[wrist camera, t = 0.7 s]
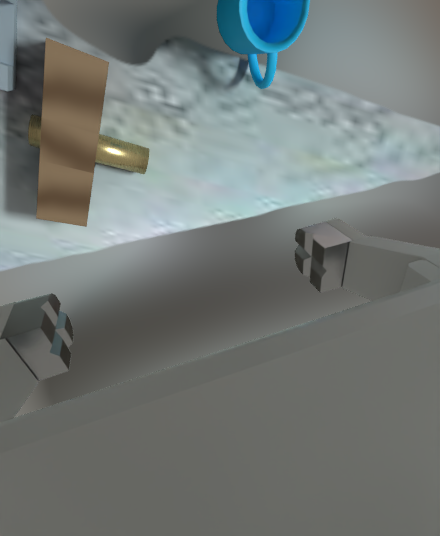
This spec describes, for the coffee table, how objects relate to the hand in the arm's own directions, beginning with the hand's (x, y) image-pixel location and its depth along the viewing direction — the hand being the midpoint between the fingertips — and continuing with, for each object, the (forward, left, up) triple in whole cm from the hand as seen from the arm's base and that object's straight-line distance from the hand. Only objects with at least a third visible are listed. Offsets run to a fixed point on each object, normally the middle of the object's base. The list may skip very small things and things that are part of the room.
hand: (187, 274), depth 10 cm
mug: (-14, +13, -38) cm, 43 cm away
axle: (+5, -4, -38) cm, 39 cm away
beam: (+5, -6, -38) cm, 39 cm away
